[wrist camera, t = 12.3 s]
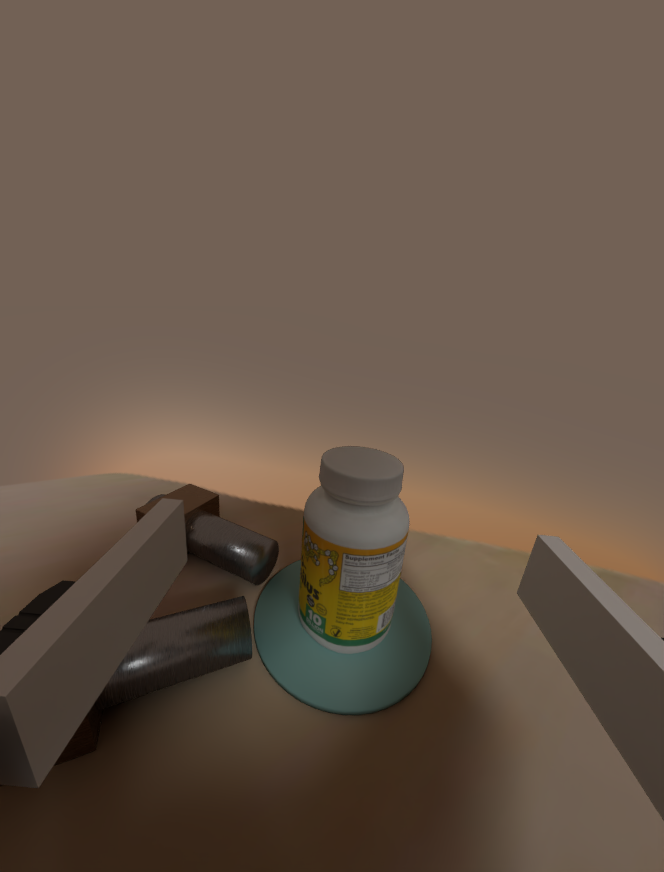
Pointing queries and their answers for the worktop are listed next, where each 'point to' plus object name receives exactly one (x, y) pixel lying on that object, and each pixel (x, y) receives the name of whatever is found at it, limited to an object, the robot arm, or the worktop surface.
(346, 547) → the supplement bottle
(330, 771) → the worktop surface
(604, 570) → the worktop surface
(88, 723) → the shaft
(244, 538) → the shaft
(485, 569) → the worktop surface
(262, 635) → the disc
